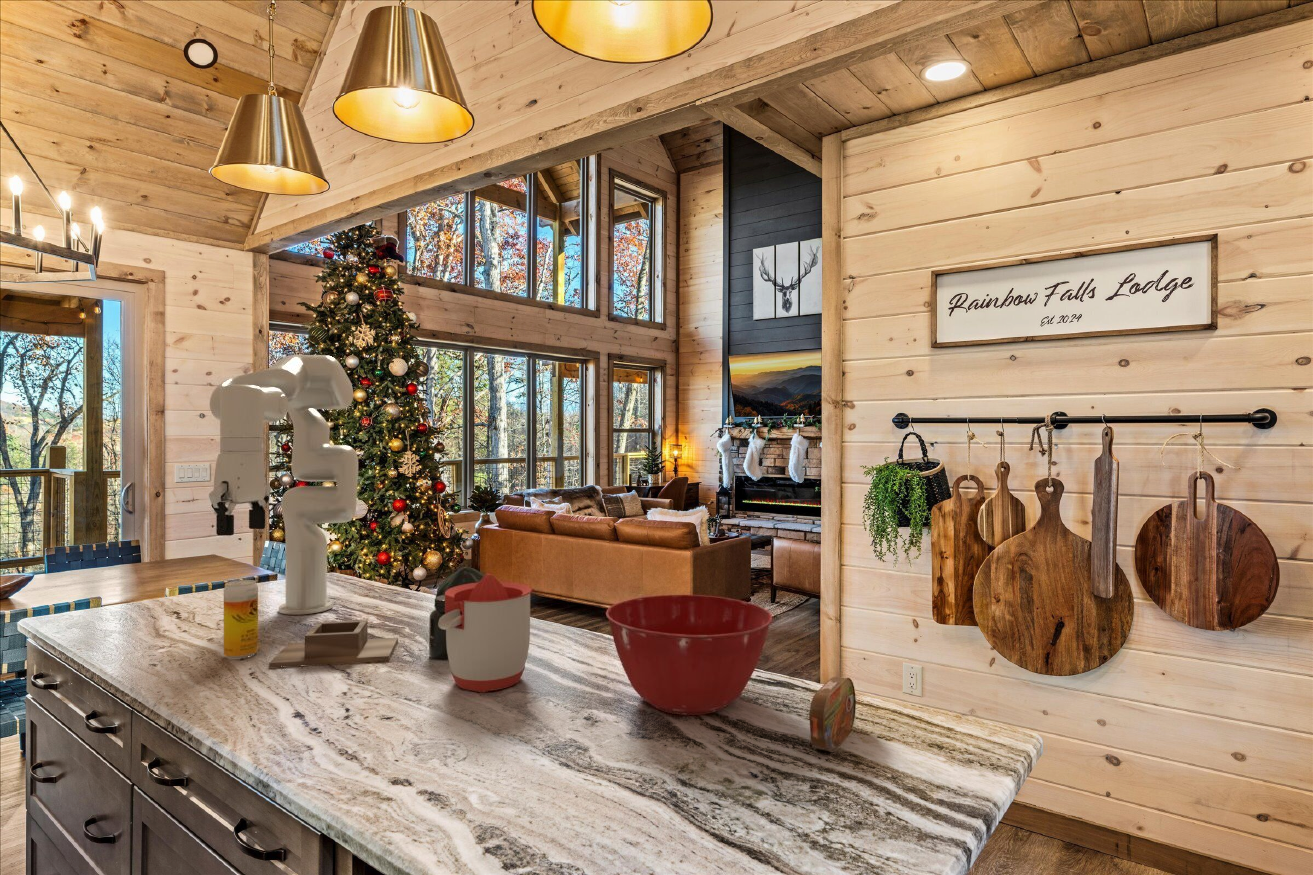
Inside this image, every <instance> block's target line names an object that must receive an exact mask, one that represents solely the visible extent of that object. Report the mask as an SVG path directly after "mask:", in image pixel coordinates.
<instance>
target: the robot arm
mask: <svg viewBox="0 0 1313 875" xmlns="http://www.w3.org/2000/svg"><path fill="white" fill-rule="evenodd" d="M352 385H353V384H352V382H351V380H350V378H349V376H348V375H347V373H346V371H345V370H344V368H343V366H342V364H341V363H340V362H339V361H338V360H337V359H336V358H335V357H332V356H330V355H326V354H324V355H323V354H292V355H291V354H290V355H287V356H284V357H282V358H281V359H280V360H278V361H277V362H275V363H274V364H272V366H270V367H269V368H266V369H265V368H264V369H261V370H257V371H253V372H250V373H246V374H241V375H237V376H233V377H231V378H228V379H226V380H224V381H223V382H222V383H220V384H219V385H217V386H216V387H215V388H214V390H213V391H212V393H211V395H210V398H209V409H210V412H211V414H212V415H213V417H214V418H215V419H216V420H219V453H218V455H217V459H216V462H215V469H214V474H213V476H214V477H213V490H211V491H210V492H209V494H208V497H209V500H210V503H211V508H212V509H213V510H214V511H213V514H214V515H215V516H216V518H215V519H216V521H215V522H216V525H215V526H216V527H215V529H216V531H215V532H216V535H217V536H220V537H221V536H226V537H227V536H228V537H230V536H234V534H235V515H234V514H232V513H233V511H234V509H235V507H236V505H241V504H248V505H249V506H250V508H251V509H249V510H248V528H249V529H250V530H264V529H265V528H266V509H268V502H269V500H270V494H271V491H272V487H271V486H270V485H268V484H267V481H266V466H265V459H264V423H274V422H278V421H279V422H280V420H283V418H285V417H286V415H287V413H288V415H289V417H290V419H291V422H292V426H293V441H292V453H291V454H292V455H291V475H292V477H294V479H296V480H297V481H303V482H336V484H337V486H336V485H334V486H333V485H331V486H325V485H322V486H321V485H302V486H301V485H300V486H296V487H295V486H294V487H291V488H289V489H288V490H287V491H285V492H284V493H283V495H282V498H281V502H280V503H281V505H280V506H281V513H282V518H283V523H284V533H285V534H284V535H285V603H283V604H281V605H279V606H278V612H279V613H280V614H283V615H290V616H291V615H292V616H293V615H294V616H296V615H297V616H298V615H308V614H315V613H321V612H327V611H328V610H330V609H332V608H333V607H334V601H332V599H331V600H330V599H328V598H327V596H328V594H327V593H328V592H327V591H328V588H327V586H328V582H327V580H328V579H327V578H328V577H327V576H328V573H327V572H328V561H327V560H328V559H327V558H328V556H327V555H328V554H327V553H328V552H327V551H328V550H327V549H328V542H327V541H328V540H327V538H326V536H325V533H324V532H323V531H322V529H321V528H320V527H319V526H318V525H319V524H343V523H348V522H350V521H352V520H353V519H354V518H355V515H356V509H357V498H358V482H359V481H358V480H359V479H358V478H359V458H358V454H357V452H356V450H355V449H354V448H353V447H352V446H350V445H343V444H342V445H341V444H339V445H338V444H330V433H331V432H330V431H331V430H330V429H331V427H330V425H329V424H328V422H327V421H326V419H325V418H324V417H323V415H321V413H320V412H319V411H318V410H344V409H346V408H348V407H349V406H351V405H352V402H353V401H354V390H353V389H354V388H353V386H352Z"/></svg>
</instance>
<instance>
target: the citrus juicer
mask: <svg viewBox="0 0 1313 875" xmlns="http://www.w3.org/2000/svg"><path fill="white" fill-rule="evenodd" d="M484 575H485V576H484V577H483V578H482V579H481V580H480V581H479V582H478V583H470V584H464V585H459V586H456V587H453V588H450V589H448V590H447V591H446V592H445V615H443V616H442V617H441V618H440V619H439V622H438V626H439V628H441V629H443V630H446V645H447V654H448V659H449V660H448V663H449V666H450V670H451V671H450V672H451V675H452V677H453V680H454V682H455V684H456V686H457V687H459V688H461V689H463V690H467V691H473V692H474V691H475V692H478V693H488V692H489V691H497V690H501V689H505V688H509V687H512V686H514V685H516V684H517V683H518V682H519V681H521V679H522V675H523V674H524V671H525V669H526V668H525V667H526V663H527V660H528V655H529V649H530V640H531V593H532V591H533V590H532V588H531V586H529V585H527V584H525V583H519V582H514V581H513V582H511V581H499V580H498V579H497V577H495V576H494V575H493V574H491V573H487V574H484Z"/></svg>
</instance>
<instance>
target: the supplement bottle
mask: <svg viewBox="0 0 1313 875" xmlns="http://www.w3.org/2000/svg"><path fill="white" fill-rule="evenodd" d="M433 605H434V606H433V607H434V610H432V612H431V613H430V614H429V617H428V618H429V620H428V621H429V622H428V623H429V625H428V628H429V630H428V635H429V636H428V655H429V657H430V658H431V659H434V660H436V661H438V660H439V661H449V659H448V654H447V645H446V630H443V629H441V628H439V626H438V622H439V619H440V618H441V617H442V616H443V615H445V595H442V596H438V597H436V596H435V597H434V604H433ZM435 608H436V609H435Z"/></svg>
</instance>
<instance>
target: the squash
mask: <svg viewBox="0 0 1313 875" xmlns="http://www.w3.org/2000/svg"><path fill="white" fill-rule="evenodd" d="M485 575H486V574H485V573H482V572H480V571H479V570H477V569H475V568H473V567H470V566H464V567H461V568H460V569H458V570H456V571H455V572H453V573H451V574H450V575H449V576H447V578H445V579H444V580H443V581H442V582H441V584H440V585H439V586H438V588H437V591H436V595H435V598H436V597H438V596H442V595H445V592H446V591H447V590H448V589H450V588H453V587H456V586H459V585H464V584H470V583H478V582H479V581H480V580H481V579H482V578H483V577H484V576H485ZM435 609H436V608H435V607H434V610H435Z"/></svg>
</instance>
